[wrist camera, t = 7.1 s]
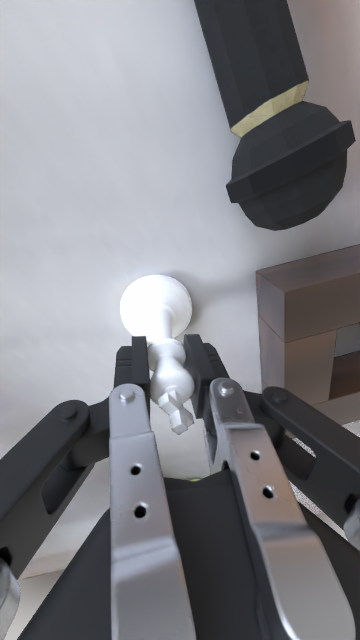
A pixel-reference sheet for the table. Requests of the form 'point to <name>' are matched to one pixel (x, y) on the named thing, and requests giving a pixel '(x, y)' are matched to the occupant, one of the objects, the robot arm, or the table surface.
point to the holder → (311, 330)
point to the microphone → (272, 114)
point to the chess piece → (162, 341)
